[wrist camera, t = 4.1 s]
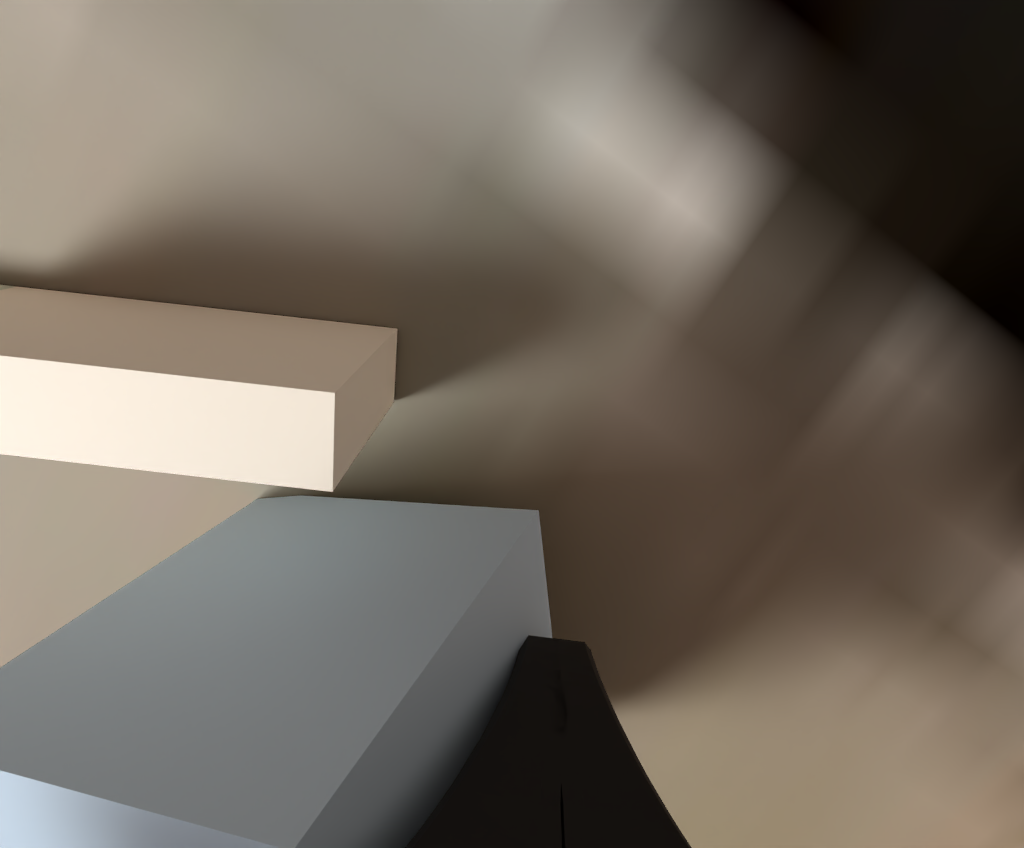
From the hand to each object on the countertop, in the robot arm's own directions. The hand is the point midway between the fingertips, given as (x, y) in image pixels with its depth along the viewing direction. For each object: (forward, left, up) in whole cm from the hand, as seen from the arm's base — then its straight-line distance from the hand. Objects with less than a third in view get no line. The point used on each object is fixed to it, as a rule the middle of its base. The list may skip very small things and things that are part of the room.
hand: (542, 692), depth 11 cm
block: (0, +2, -2) cm, 3 cm away
